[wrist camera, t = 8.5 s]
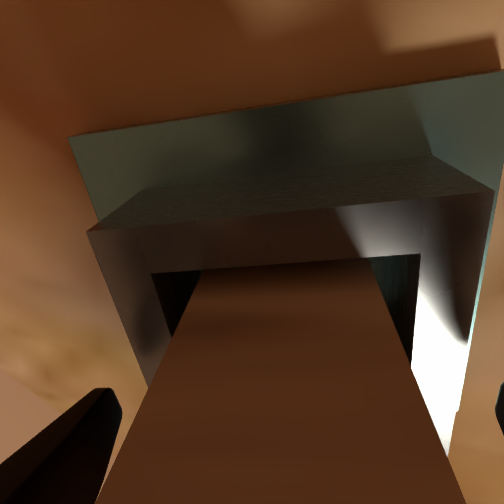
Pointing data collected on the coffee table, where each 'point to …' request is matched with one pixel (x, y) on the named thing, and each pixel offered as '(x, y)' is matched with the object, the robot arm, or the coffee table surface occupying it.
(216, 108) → the coffee table surface
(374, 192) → the socket
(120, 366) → the coffee table surface
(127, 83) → the coffee table surface
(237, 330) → the peg
